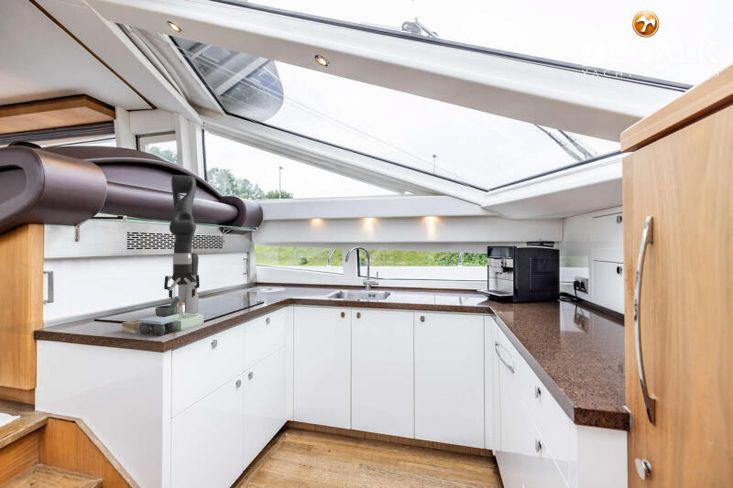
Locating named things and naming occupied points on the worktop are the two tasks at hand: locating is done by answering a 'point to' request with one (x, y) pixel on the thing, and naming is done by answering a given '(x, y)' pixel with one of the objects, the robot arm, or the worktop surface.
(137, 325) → the stop block
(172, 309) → the mortar and pestle
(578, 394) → the worktop surface
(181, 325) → the tray
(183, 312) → the stop pin
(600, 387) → the worktop surface
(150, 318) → the trolley
